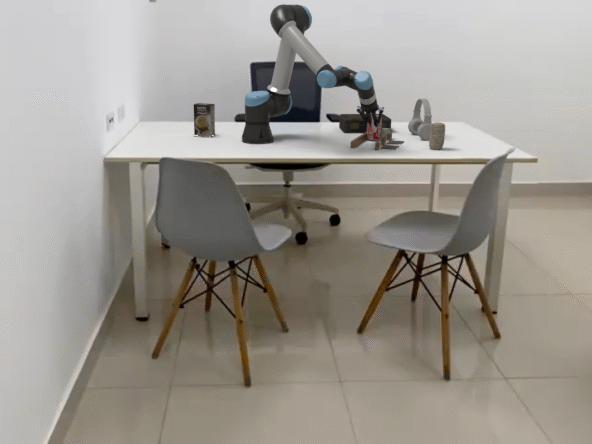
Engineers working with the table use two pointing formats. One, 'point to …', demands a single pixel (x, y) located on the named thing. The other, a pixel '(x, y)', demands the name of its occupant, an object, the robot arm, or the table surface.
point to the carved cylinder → (437, 136)
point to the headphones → (417, 124)
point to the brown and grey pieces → (385, 135)
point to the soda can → (373, 135)
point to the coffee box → (204, 119)
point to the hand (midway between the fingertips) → (374, 130)
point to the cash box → (359, 123)
